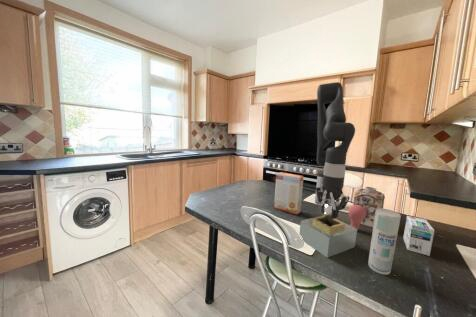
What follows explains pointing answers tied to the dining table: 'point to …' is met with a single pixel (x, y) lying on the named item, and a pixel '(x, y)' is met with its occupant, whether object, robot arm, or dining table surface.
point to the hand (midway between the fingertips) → (329, 215)
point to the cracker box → (288, 192)
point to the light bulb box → (418, 235)
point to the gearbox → (328, 235)
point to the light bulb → (356, 215)
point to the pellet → (328, 210)
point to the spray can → (383, 240)
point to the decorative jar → (369, 203)
